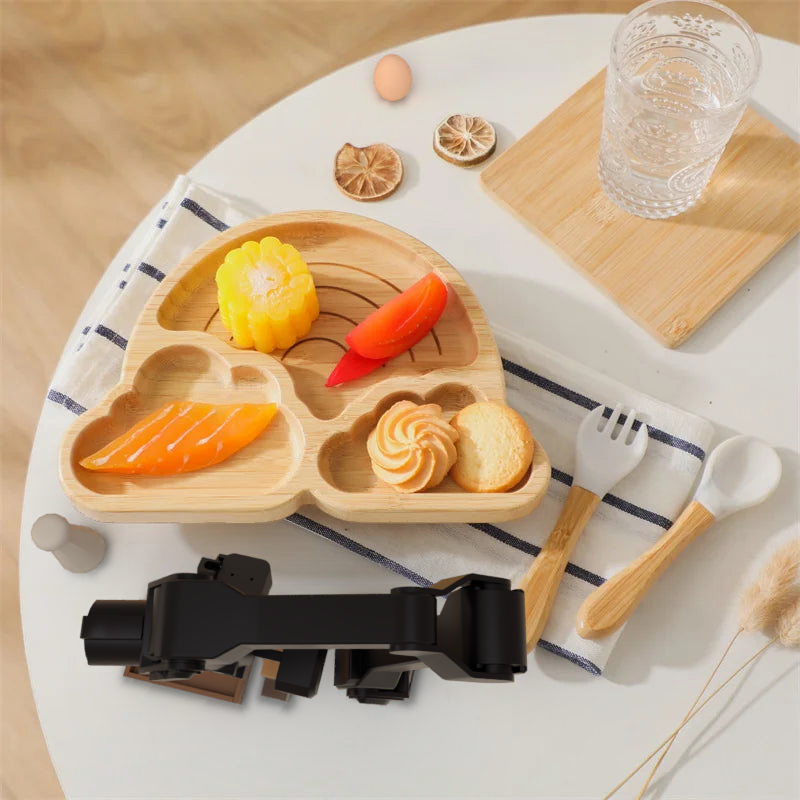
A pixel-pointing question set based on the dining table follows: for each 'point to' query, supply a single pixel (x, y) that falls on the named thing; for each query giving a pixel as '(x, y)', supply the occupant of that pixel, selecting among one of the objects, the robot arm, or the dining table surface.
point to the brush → (272, 680)
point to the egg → (392, 77)
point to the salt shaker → (68, 542)
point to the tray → (202, 684)
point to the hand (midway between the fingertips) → (248, 654)
